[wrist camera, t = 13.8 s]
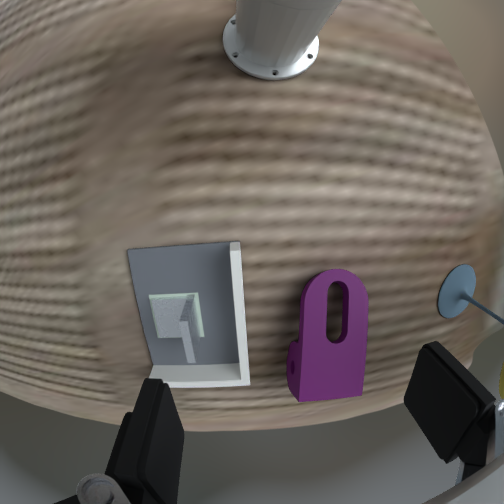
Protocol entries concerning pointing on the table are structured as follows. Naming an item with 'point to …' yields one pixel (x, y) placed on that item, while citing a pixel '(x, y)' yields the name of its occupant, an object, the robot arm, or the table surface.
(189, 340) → the angle bracket
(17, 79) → the table surface
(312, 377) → the mounting bracket
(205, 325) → the tray
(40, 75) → the table surface
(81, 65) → the table surface
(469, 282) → the cocktail glass
